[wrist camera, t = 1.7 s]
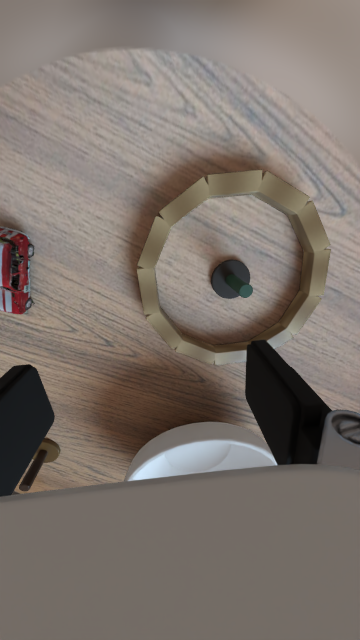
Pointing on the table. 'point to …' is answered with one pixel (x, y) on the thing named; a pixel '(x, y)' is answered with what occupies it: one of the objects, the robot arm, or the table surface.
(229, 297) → the green peg
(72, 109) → the table surface
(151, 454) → the bowl
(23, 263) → the toy car
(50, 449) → the walnut peg
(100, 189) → the table surface
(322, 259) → the ring
